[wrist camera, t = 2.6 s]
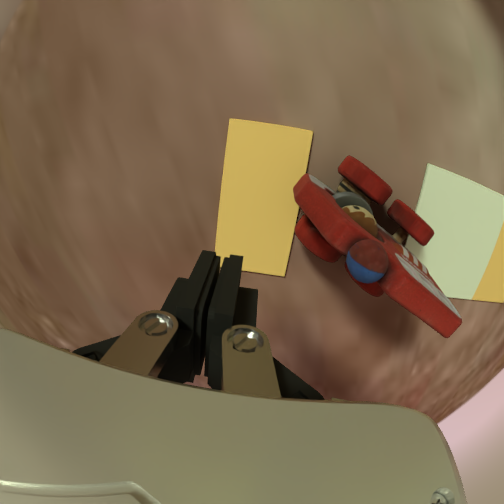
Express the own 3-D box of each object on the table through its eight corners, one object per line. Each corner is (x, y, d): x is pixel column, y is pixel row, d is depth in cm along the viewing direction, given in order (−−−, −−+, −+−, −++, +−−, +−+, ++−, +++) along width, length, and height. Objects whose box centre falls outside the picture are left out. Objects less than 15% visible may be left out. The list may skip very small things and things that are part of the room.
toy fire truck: (324, 136, 19) (368, 148, 10) (430, 230, 21) (498, 294, 12) (270, 209, 22) (266, 279, 12) (381, 287, 24) (422, 371, 15)
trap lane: (230, 118, 19) (229, 118, 19) (537, 214, 19) (538, 214, 19) (214, 264, 24) (213, 265, 24) (501, 301, 24) (502, 302, 24)
